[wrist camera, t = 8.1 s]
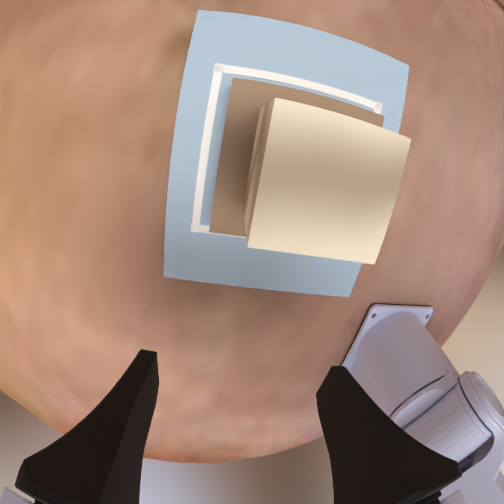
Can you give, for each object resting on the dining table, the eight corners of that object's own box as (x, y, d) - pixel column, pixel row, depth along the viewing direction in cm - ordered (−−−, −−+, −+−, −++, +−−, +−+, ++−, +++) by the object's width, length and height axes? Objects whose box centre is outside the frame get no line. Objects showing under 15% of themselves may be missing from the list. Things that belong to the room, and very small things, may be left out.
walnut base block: (333, 232, 18) (349, 251, 16) (212, 214, 17) (209, 232, 14) (361, 116, 15) (384, 116, 12) (233, 86, 14) (232, 77, 11)
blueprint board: (345, 290, 22) (349, 297, 21) (166, 269, 20) (163, 277, 19) (401, 67, 14) (410, 65, 13) (200, 16, 12) (198, 9, 11)
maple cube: (334, 220, 15) (374, 264, 10) (243, 205, 14) (247, 247, 9) (356, 131, 13) (411, 139, 8) (260, 107, 12) (275, 97, 7)
